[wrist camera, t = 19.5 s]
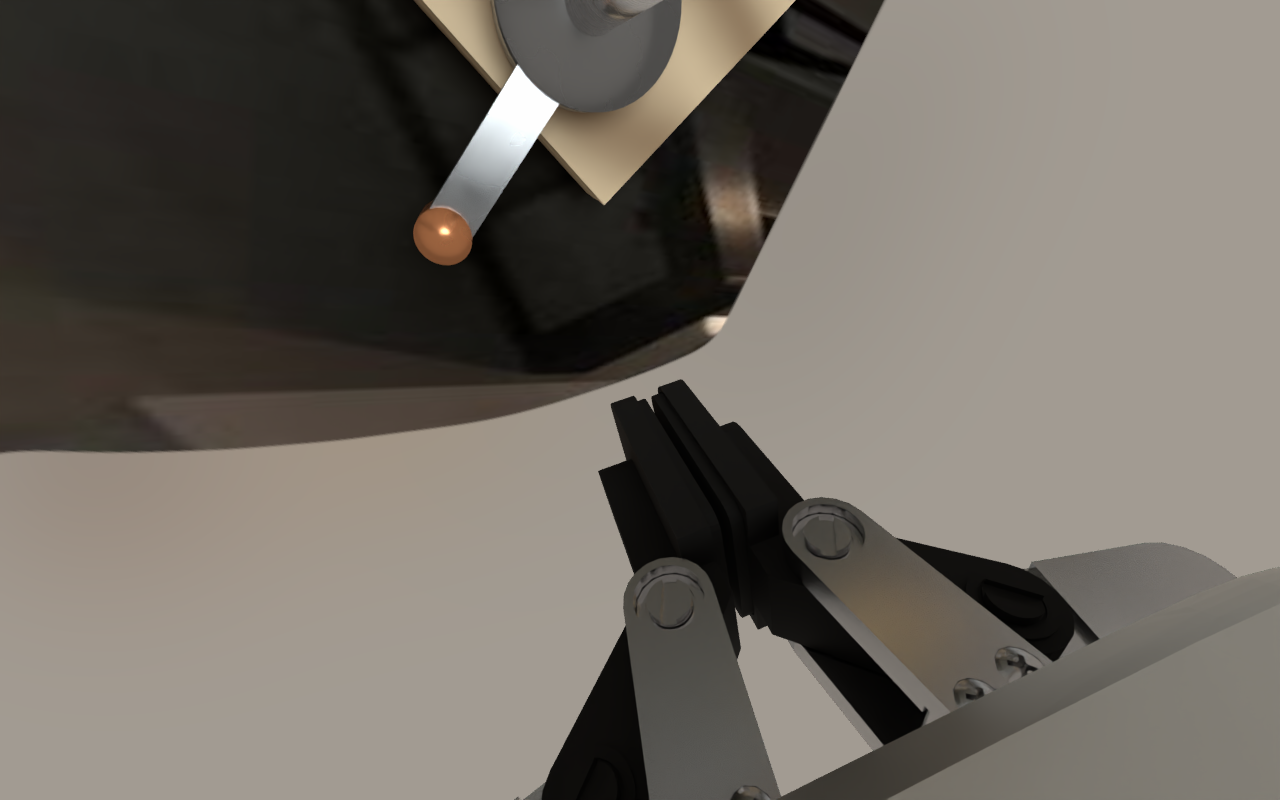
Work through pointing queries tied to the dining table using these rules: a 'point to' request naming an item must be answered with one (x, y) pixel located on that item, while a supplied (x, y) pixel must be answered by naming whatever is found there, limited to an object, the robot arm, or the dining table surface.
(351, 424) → the dining table surface
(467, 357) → the dining table surface
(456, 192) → the grey crank lever
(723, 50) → the block
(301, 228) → the dining table surface
